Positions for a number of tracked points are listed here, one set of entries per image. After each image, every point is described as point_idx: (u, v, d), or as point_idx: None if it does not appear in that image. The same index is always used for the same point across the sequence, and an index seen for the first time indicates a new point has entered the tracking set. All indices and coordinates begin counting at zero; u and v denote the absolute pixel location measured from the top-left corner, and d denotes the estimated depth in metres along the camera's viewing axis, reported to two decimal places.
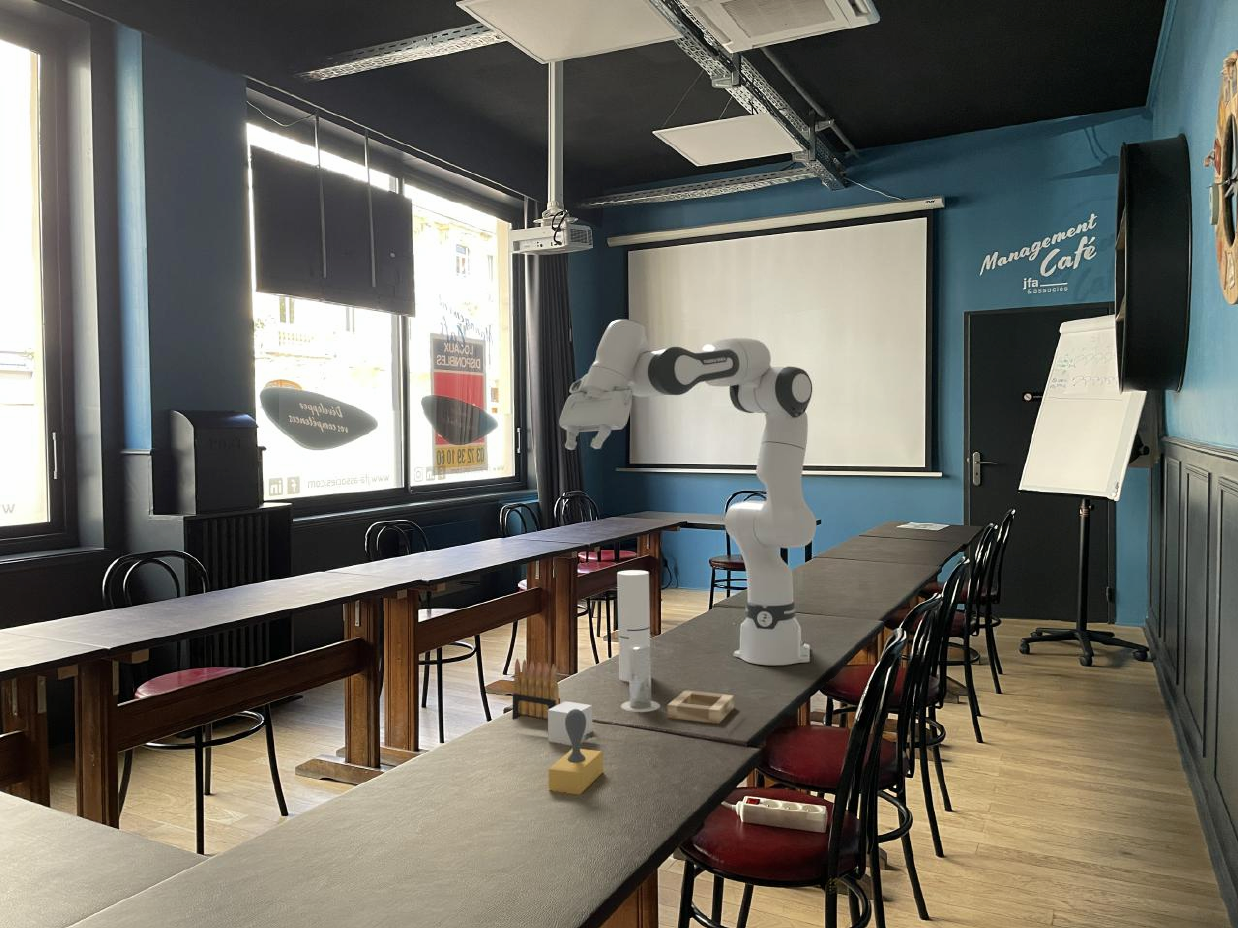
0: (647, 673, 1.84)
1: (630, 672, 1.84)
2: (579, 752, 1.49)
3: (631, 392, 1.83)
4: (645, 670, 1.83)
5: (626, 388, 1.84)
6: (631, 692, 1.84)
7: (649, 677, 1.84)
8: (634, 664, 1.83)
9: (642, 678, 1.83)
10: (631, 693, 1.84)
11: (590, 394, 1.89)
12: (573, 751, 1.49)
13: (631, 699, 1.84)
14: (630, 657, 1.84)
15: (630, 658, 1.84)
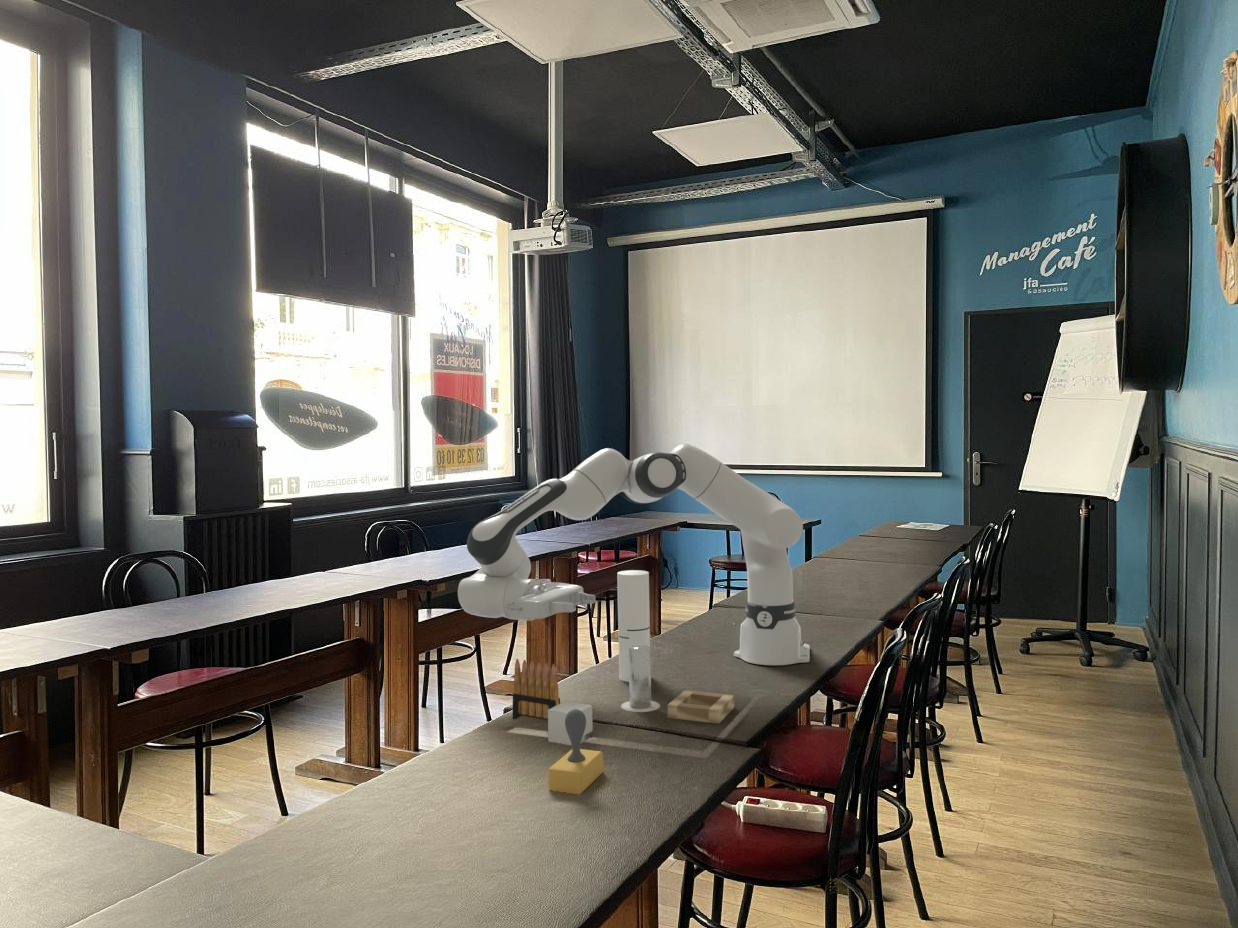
0: (647, 673, 1.84)
1: (630, 672, 1.84)
2: (579, 752, 1.49)
3: (508, 608, 1.85)
4: (645, 670, 1.83)
5: None
6: (631, 692, 1.84)
7: (649, 677, 1.84)
8: (634, 664, 1.83)
9: (642, 678, 1.83)
10: (631, 693, 1.84)
11: None
12: (573, 751, 1.49)
13: (631, 699, 1.84)
14: (630, 657, 1.84)
15: (630, 658, 1.84)
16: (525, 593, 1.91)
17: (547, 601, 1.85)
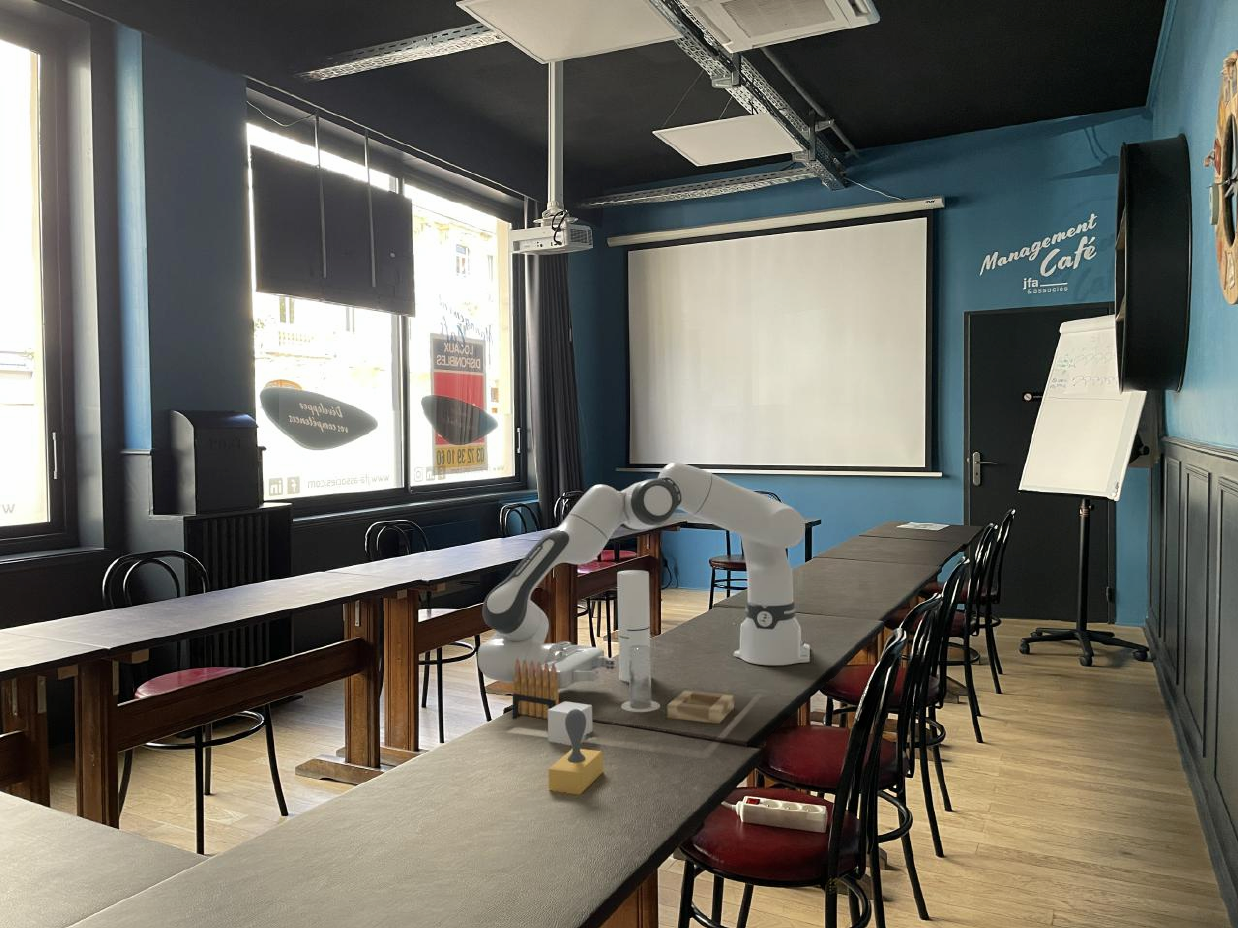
0: (647, 673, 1.84)
1: (630, 672, 1.84)
2: (579, 752, 1.49)
3: None
4: (645, 670, 1.83)
5: None
6: (631, 692, 1.84)
7: (649, 677, 1.84)
8: (634, 664, 1.83)
9: (642, 678, 1.83)
10: (631, 693, 1.84)
11: None
12: (573, 751, 1.49)
13: (631, 699, 1.84)
14: (630, 657, 1.84)
15: (630, 658, 1.84)
16: (546, 660, 1.90)
17: (569, 670, 1.83)
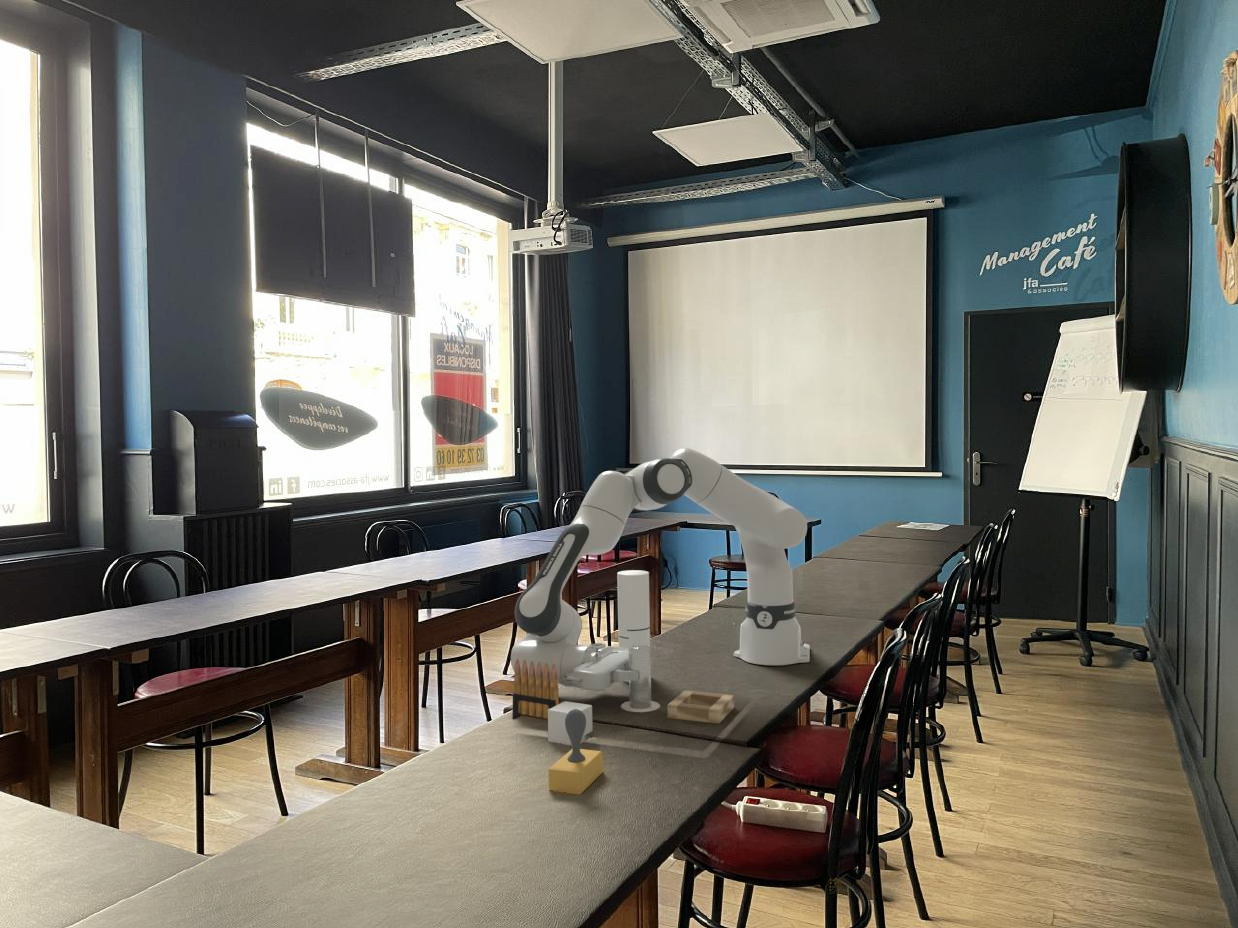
0: (647, 673, 1.84)
1: None
2: (579, 752, 1.49)
3: (567, 679, 1.80)
4: (645, 670, 1.83)
5: None
6: (631, 692, 1.84)
7: (649, 677, 1.84)
8: (634, 664, 1.83)
9: (642, 678, 1.83)
10: (631, 693, 1.84)
11: None
12: (573, 751, 1.49)
13: (631, 699, 1.84)
14: (630, 657, 1.84)
15: (630, 658, 1.84)
16: (582, 661, 1.87)
17: (607, 672, 1.80)
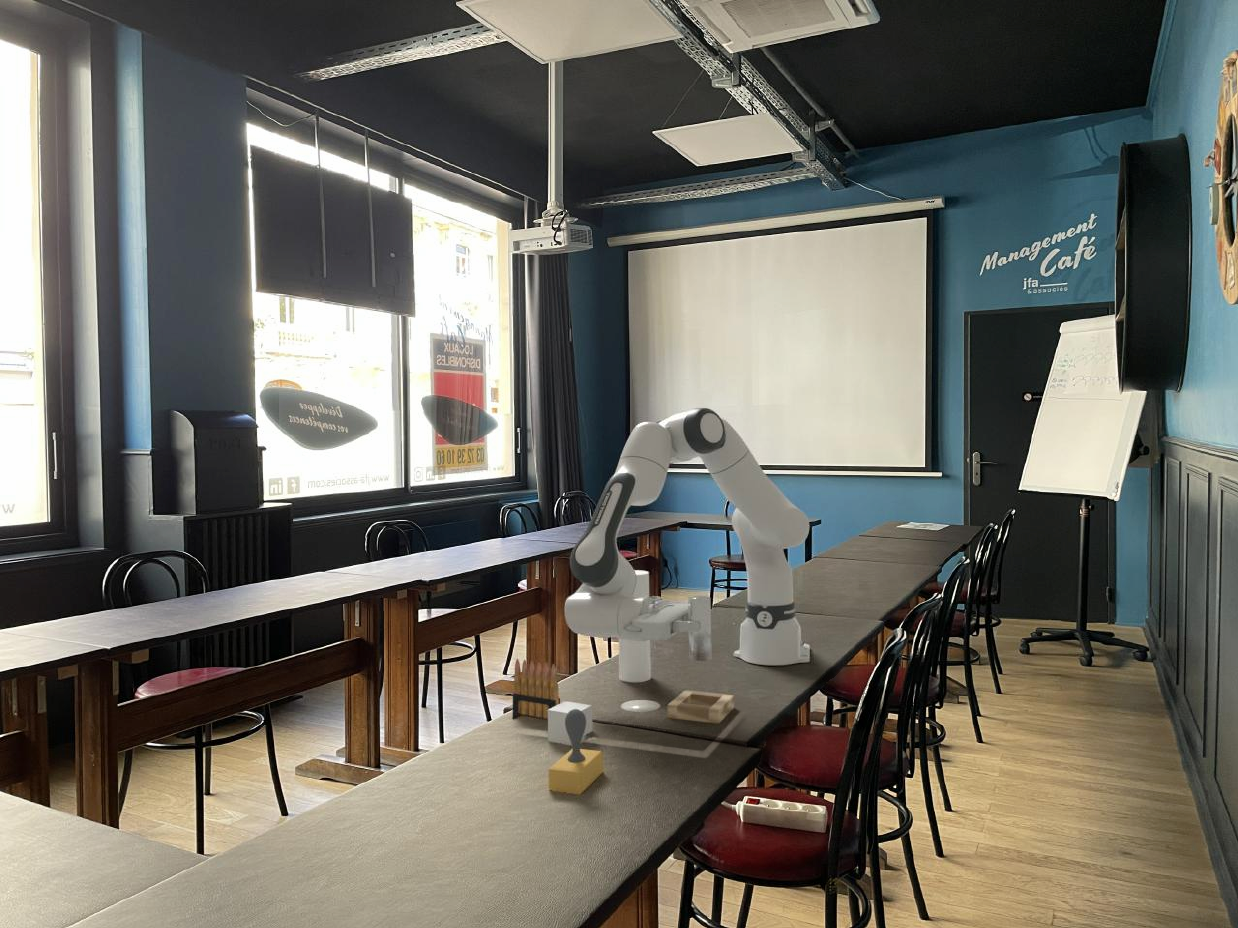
0: (707, 624, 1.78)
1: None
2: (579, 752, 1.49)
3: (627, 630, 1.75)
4: (705, 621, 1.78)
5: None
6: (691, 643, 1.79)
7: (710, 628, 1.79)
8: (694, 614, 1.78)
9: (702, 629, 1.78)
10: (691, 645, 1.79)
11: None
12: (573, 751, 1.49)
13: (691, 651, 1.79)
14: (690, 608, 1.79)
15: (690, 608, 1.79)
16: (640, 612, 1.81)
17: (668, 622, 1.74)
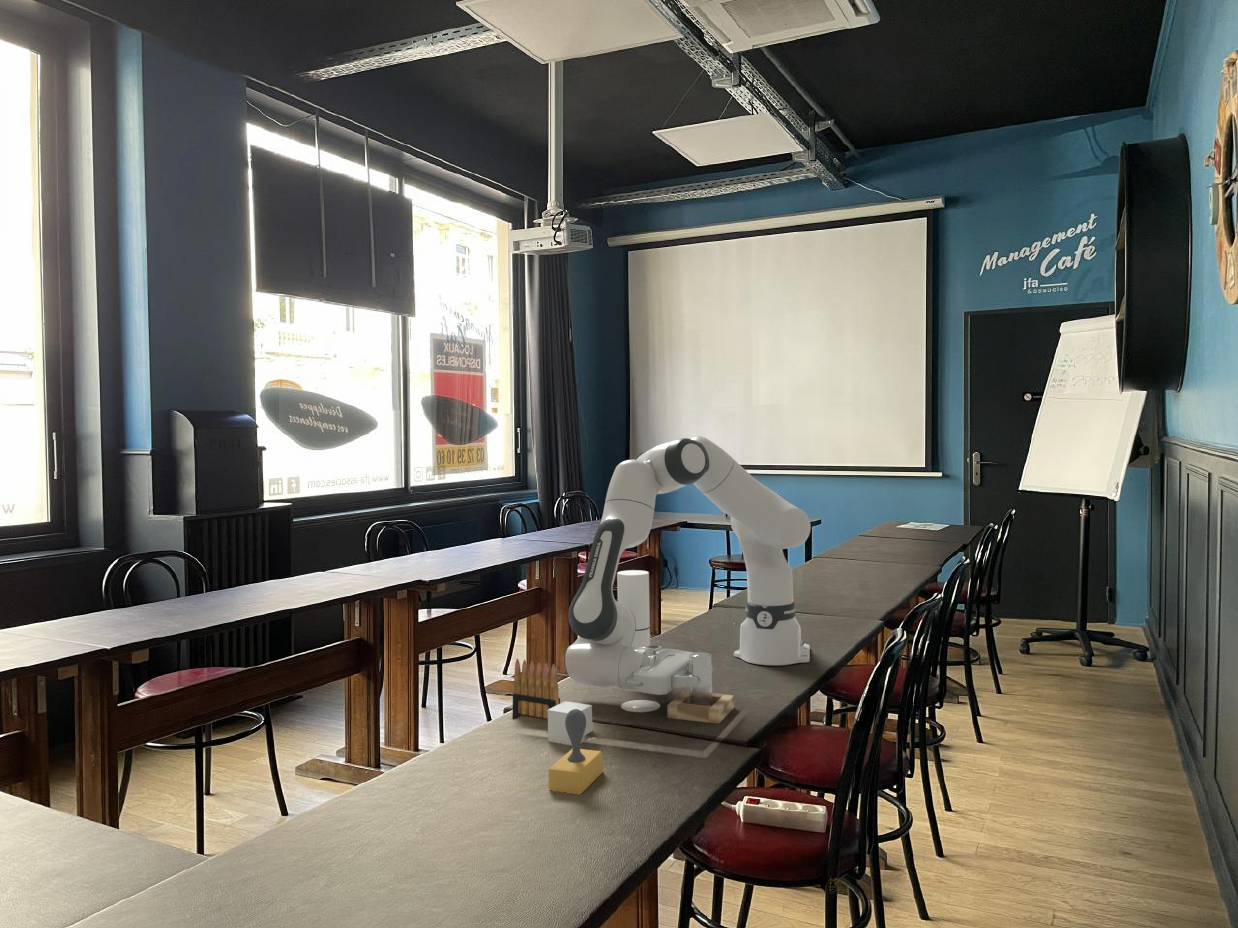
0: (708, 681, 1.79)
1: None
2: (579, 752, 1.49)
3: (628, 683, 1.75)
4: (706, 678, 1.78)
5: None
6: (692, 701, 1.79)
7: (710, 685, 1.79)
8: (695, 672, 1.78)
9: (703, 686, 1.78)
10: (692, 702, 1.79)
11: None
12: (573, 751, 1.49)
13: None
14: (691, 665, 1.79)
15: (691, 666, 1.79)
16: (641, 664, 1.82)
17: (669, 675, 1.75)
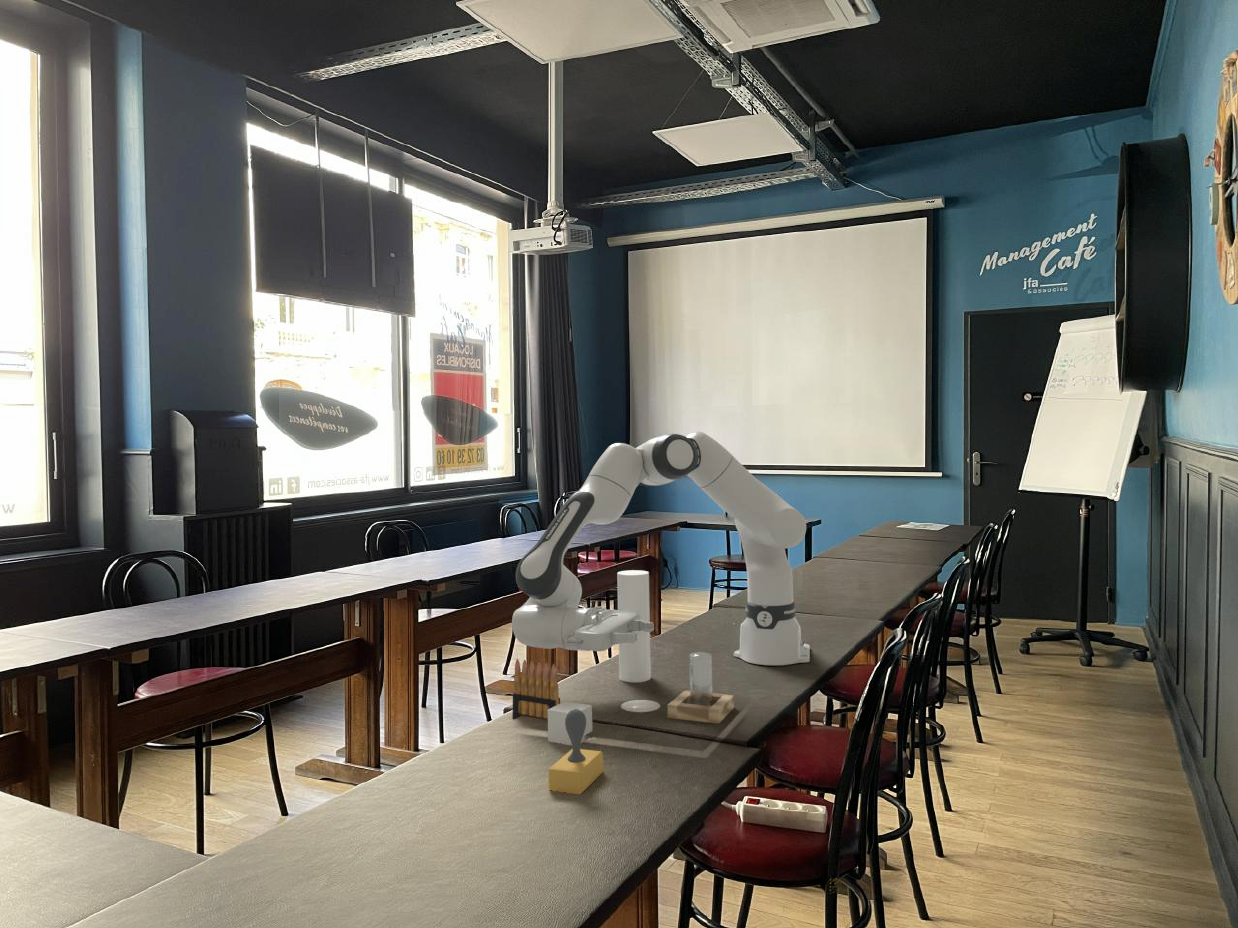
0: (708, 681, 1.79)
1: (691, 680, 1.79)
2: (579, 752, 1.49)
3: (569, 641, 1.82)
4: (706, 678, 1.78)
5: None
6: (692, 700, 1.79)
7: (711, 685, 1.79)
8: (695, 672, 1.78)
9: (704, 686, 1.78)
10: (692, 702, 1.79)
11: None
12: (573, 751, 1.49)
13: None
14: (691, 665, 1.79)
15: (691, 665, 1.79)
16: (583, 623, 1.88)
17: (608, 632, 1.81)
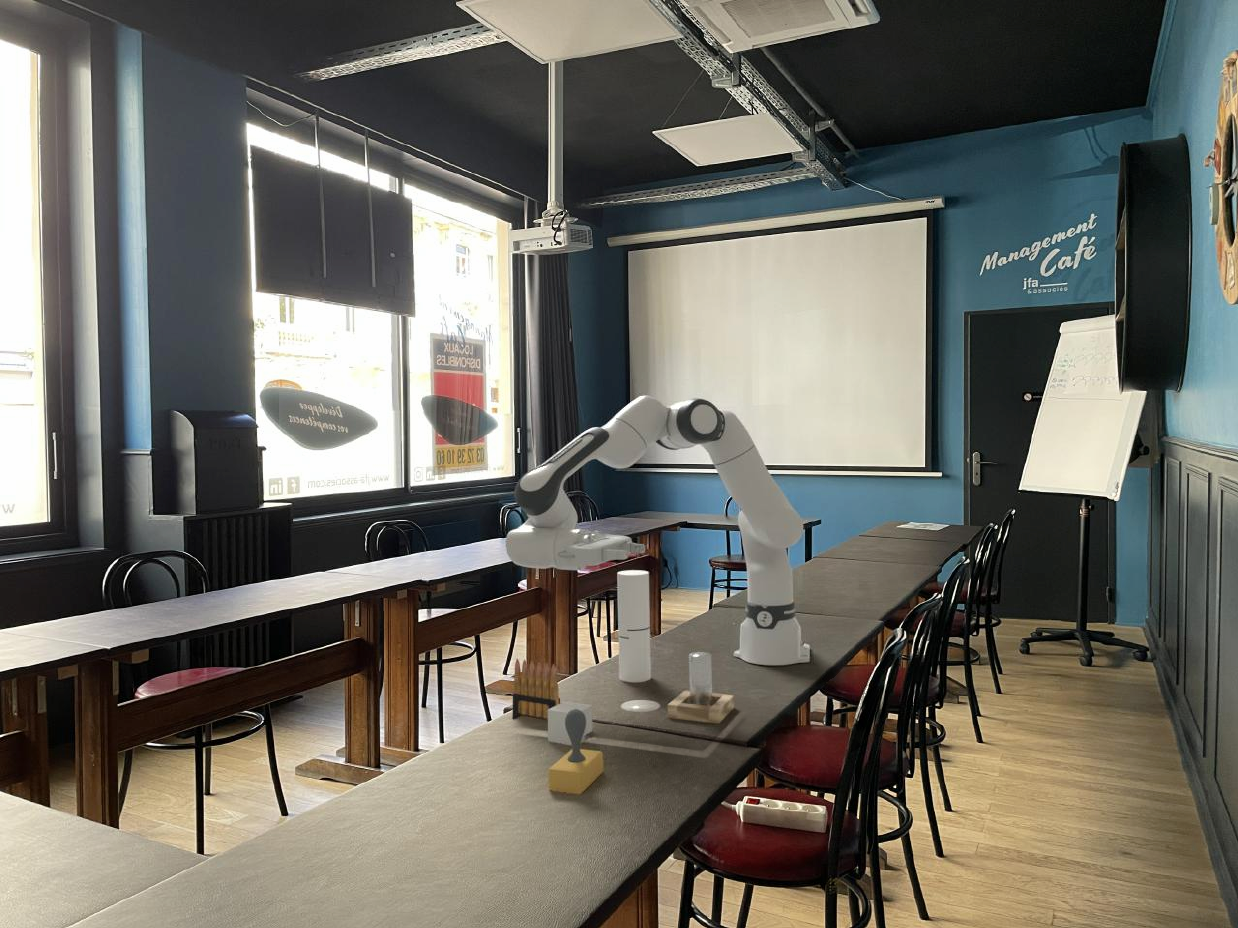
0: (708, 681, 1.79)
1: (691, 680, 1.79)
2: (579, 752, 1.49)
3: (560, 556, 1.84)
4: (706, 678, 1.78)
5: None
6: (692, 700, 1.79)
7: (710, 685, 1.79)
8: (695, 672, 1.78)
9: (703, 686, 1.78)
10: (692, 702, 1.79)
11: None
12: (573, 751, 1.49)
13: None
14: (691, 665, 1.79)
15: (690, 665, 1.79)
16: (575, 542, 1.91)
17: (599, 548, 1.84)
